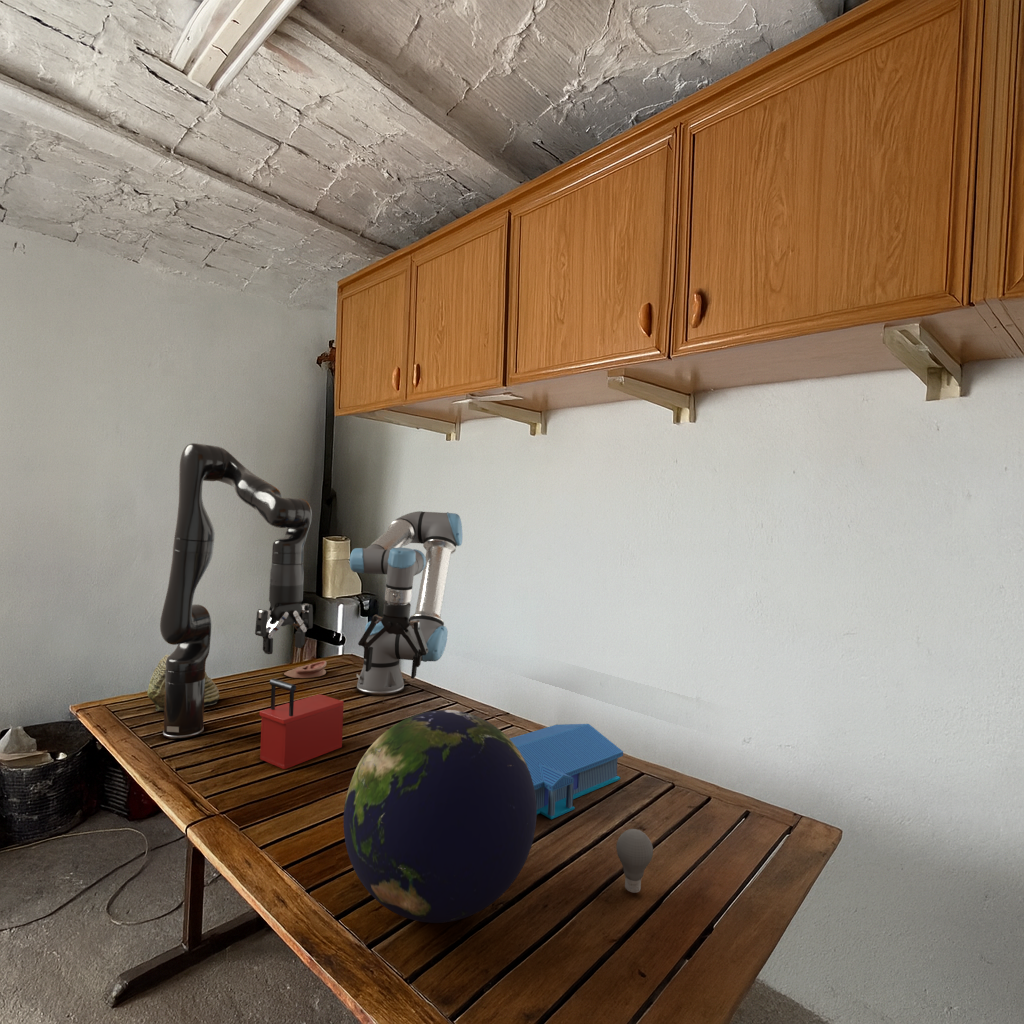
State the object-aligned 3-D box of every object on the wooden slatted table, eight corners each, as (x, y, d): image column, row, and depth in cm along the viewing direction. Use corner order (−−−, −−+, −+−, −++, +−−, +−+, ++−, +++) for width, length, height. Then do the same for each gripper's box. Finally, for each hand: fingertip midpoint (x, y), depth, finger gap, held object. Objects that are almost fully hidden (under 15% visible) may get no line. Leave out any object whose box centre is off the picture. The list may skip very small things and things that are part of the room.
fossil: (144, 707, 182) (145, 655, 182) (212, 696, 194) (213, 647, 194) (151, 716, 175) (153, 662, 175) (221, 703, 188) (223, 653, 188)
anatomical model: (279, 664, 218) (297, 657, 229) (279, 676, 218) (296, 668, 229) (314, 668, 215) (331, 660, 227) (314, 680, 216) (330, 671, 227)
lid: (283, 724, 145) (284, 688, 145) (259, 715, 150) (260, 680, 150) (343, 705, 160) (344, 672, 160) (319, 697, 165) (320, 665, 165)
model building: (505, 839, 120) (507, 787, 120) (430, 791, 138) (432, 746, 138) (631, 784, 146) (633, 741, 146) (555, 749, 164) (556, 711, 164)
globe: (296, 934, 92) (304, 728, 91) (406, 836, 119) (412, 678, 119) (484, 1004, 80) (494, 770, 80) (557, 878, 108) (565, 703, 108)
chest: (284, 769, 146) (285, 723, 146) (260, 759, 151) (261, 715, 151) (342, 747, 160) (343, 705, 160) (318, 738, 165) (319, 697, 165)
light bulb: (610, 879, 108) (613, 822, 108) (644, 879, 109) (647, 822, 109) (619, 902, 102) (622, 840, 102) (655, 901, 103) (658, 840, 103)
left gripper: (270, 586, 142) (267, 658, 142) (321, 581, 154) (318, 648, 154) (250, 583, 146) (247, 653, 146) (301, 578, 158) (298, 643, 158)
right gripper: (351, 598, 179) (344, 671, 181) (436, 611, 177) (429, 684, 178) (360, 593, 187) (354, 663, 189) (443, 605, 184) (435, 675, 186)
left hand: (284, 650), depth 150 cm, fingers open, 8 cm apart
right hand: (390, 673), depth 184 cm, fingers open, 13 cm apart
